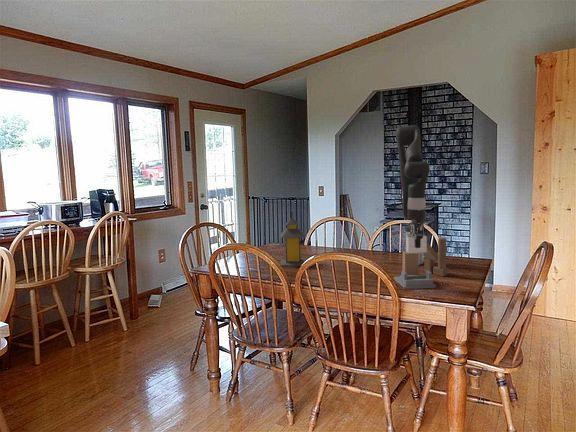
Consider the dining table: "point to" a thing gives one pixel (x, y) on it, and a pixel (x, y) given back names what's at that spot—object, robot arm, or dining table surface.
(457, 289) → the dining table surface
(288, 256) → the lantern
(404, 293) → the dining table surface
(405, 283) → the post footing
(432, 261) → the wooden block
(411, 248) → the pale grey block
